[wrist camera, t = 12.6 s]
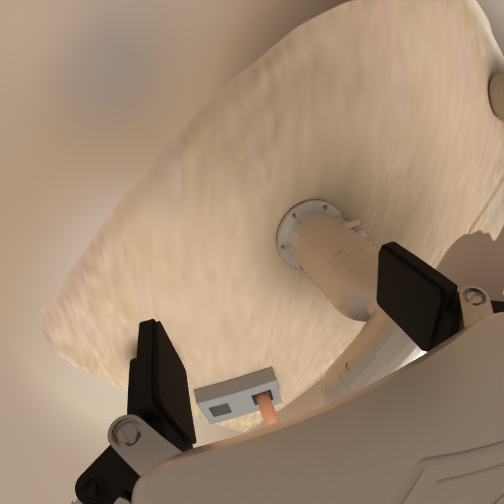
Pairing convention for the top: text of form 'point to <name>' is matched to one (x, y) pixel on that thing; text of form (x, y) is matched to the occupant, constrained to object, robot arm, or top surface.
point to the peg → (266, 408)
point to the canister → (497, 95)
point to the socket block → (236, 396)
